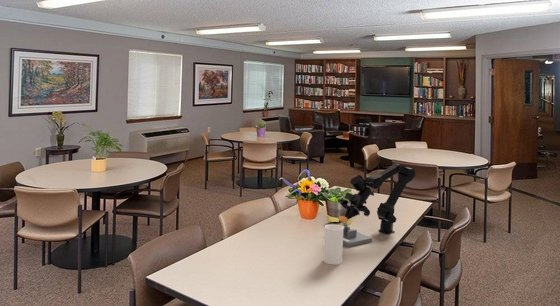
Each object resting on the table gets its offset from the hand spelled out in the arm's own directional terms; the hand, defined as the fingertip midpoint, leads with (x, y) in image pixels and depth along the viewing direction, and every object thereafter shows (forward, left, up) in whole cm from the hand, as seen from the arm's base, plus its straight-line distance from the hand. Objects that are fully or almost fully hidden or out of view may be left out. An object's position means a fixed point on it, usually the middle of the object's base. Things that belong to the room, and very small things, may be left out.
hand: (345, 219), depth 221 cm
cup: (+23, +19, -11) cm, 32 cm away
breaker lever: (-3, 0, -7) cm, 8 cm away
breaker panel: (-3, 0, -11) cm, 11 cm away
